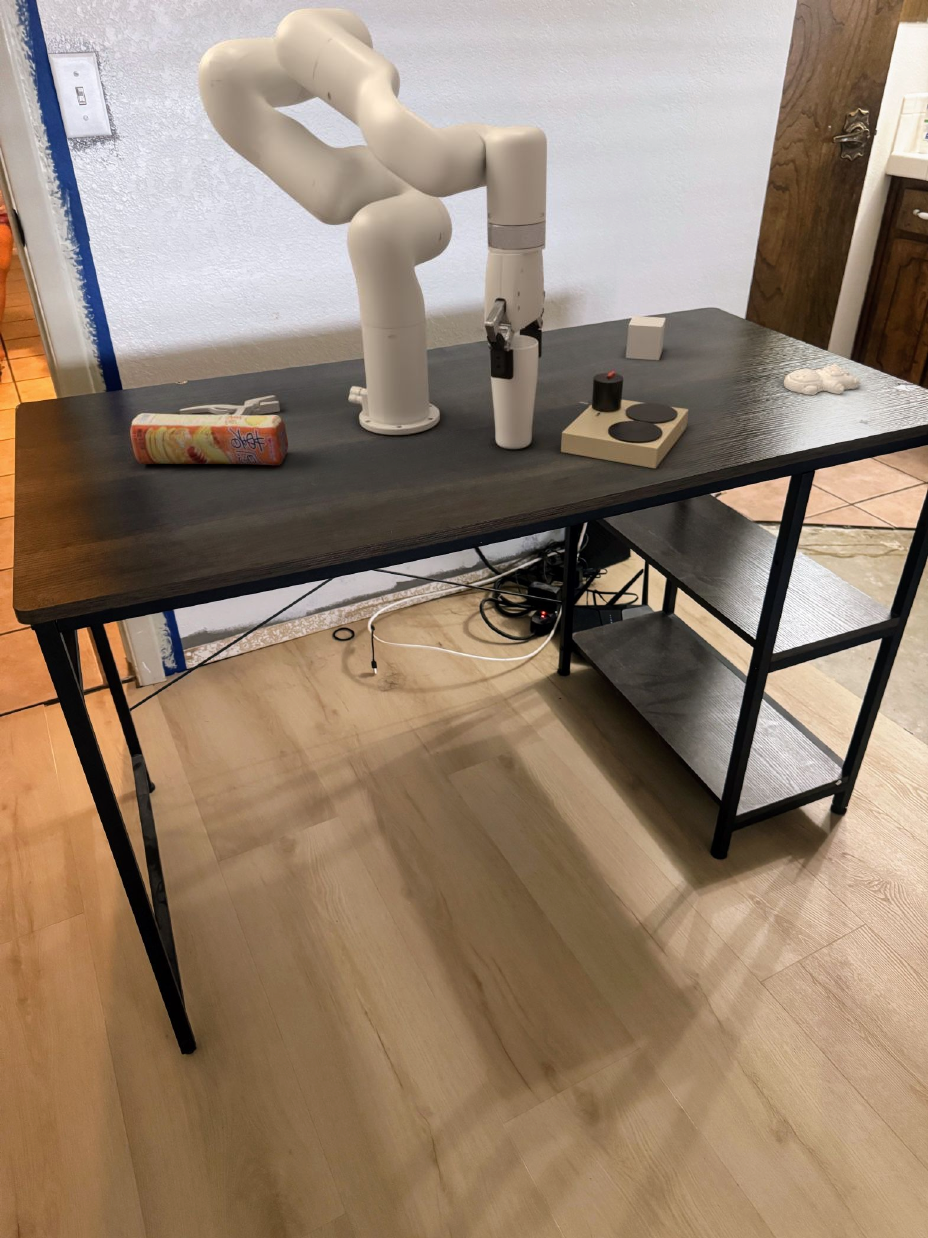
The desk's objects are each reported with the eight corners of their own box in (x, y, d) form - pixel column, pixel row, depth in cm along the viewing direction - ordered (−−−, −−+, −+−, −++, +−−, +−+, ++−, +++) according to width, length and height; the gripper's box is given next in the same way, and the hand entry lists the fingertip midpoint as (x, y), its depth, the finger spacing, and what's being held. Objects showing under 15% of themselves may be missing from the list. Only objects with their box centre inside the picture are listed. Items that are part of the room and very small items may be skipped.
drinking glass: (537, 434, 132) (539, 334, 123) (535, 453, 126) (538, 349, 118) (492, 434, 132) (491, 334, 124) (488, 452, 127) (488, 348, 118)
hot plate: (549, 449, 127) (549, 429, 125) (588, 412, 139) (589, 392, 137) (655, 468, 121) (657, 447, 119) (686, 427, 133) (689, 407, 131)
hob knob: (615, 413, 130) (617, 382, 127) (587, 409, 132) (589, 378, 129) (625, 404, 133) (627, 373, 130) (597, 399, 135) (599, 369, 132)
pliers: (178, 403, 142) (269, 389, 146) (180, 413, 142) (270, 398, 147) (188, 424, 134) (284, 408, 139) (190, 434, 135) (285, 417, 140)
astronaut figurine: (865, 394, 143) (869, 375, 141) (791, 395, 143) (795, 377, 141) (846, 376, 150) (849, 358, 148) (775, 377, 150) (778, 360, 149)
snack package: (291, 451, 129) (285, 406, 125) (281, 470, 123) (274, 424, 119) (150, 451, 130) (139, 407, 126) (134, 469, 124) (122, 424, 121)
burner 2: (600, 437, 123) (600, 435, 123) (618, 419, 128) (618, 417, 128) (653, 446, 120) (653, 444, 120) (668, 427, 125) (669, 425, 125)
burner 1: (618, 418, 128) (618, 416, 128) (634, 401, 134) (634, 399, 134) (669, 426, 125) (669, 424, 125) (683, 409, 131) (683, 407, 131)
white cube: (630, 348, 166) (633, 315, 162) (662, 350, 164) (665, 317, 161) (625, 357, 161) (628, 324, 157) (658, 360, 159) (662, 326, 156)
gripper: (517, 222, 121) (517, 347, 130) (460, 247, 108) (465, 383, 118) (568, 225, 118) (564, 352, 128) (515, 251, 105) (516, 390, 115)
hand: (516, 367), depth 123 cm, fingers open, 9 cm apart
